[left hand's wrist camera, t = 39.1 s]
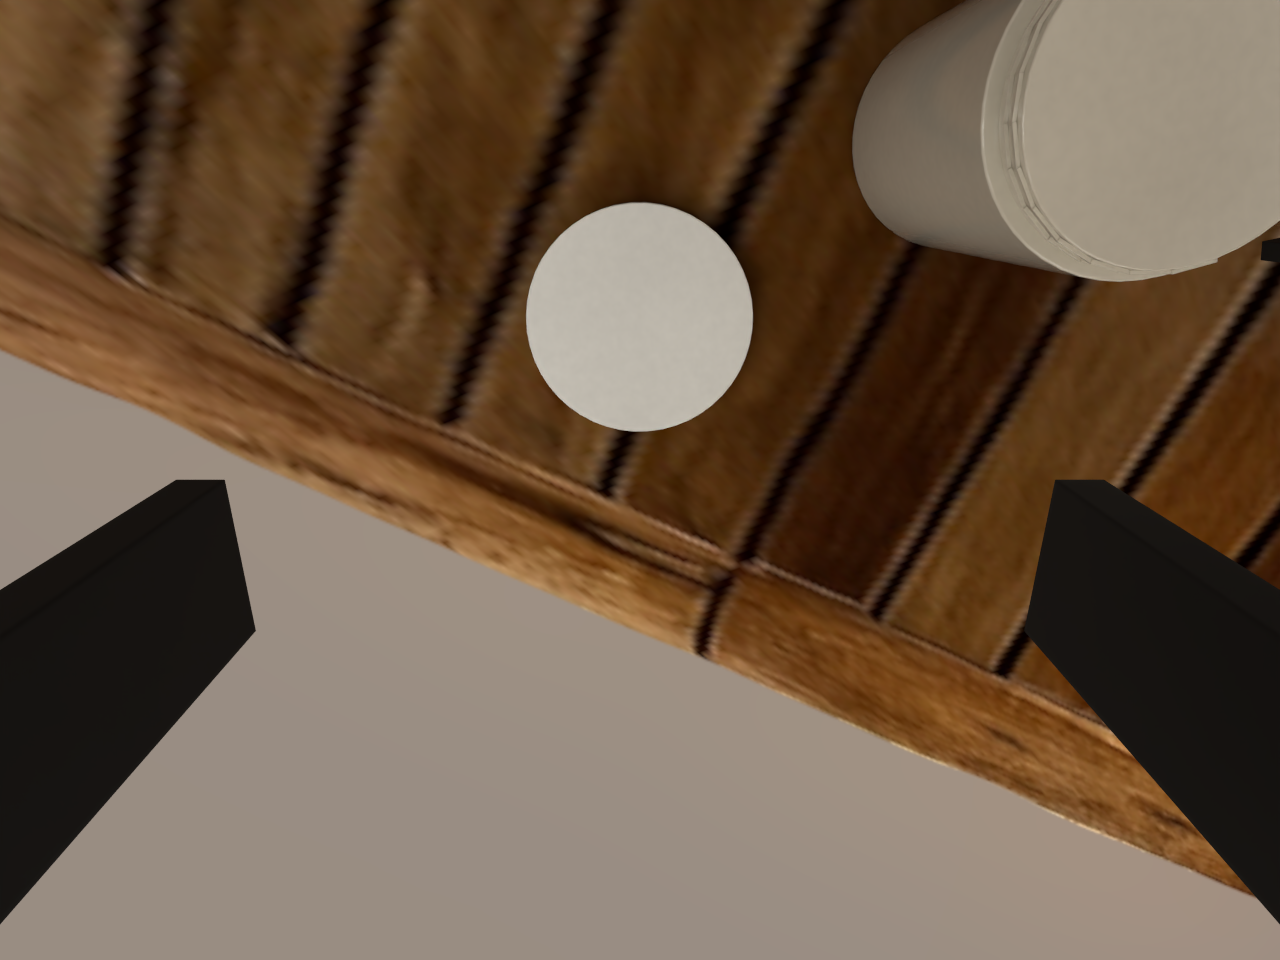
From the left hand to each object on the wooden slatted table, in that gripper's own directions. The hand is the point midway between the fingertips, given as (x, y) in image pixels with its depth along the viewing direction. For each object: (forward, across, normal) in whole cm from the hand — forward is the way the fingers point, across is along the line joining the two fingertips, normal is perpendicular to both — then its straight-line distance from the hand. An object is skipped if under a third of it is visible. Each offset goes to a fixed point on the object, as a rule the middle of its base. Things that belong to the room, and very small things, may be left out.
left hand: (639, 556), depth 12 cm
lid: (+25, 0, 0) cm, 25 cm away
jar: (+26, +14, +8) cm, 31 cm away
